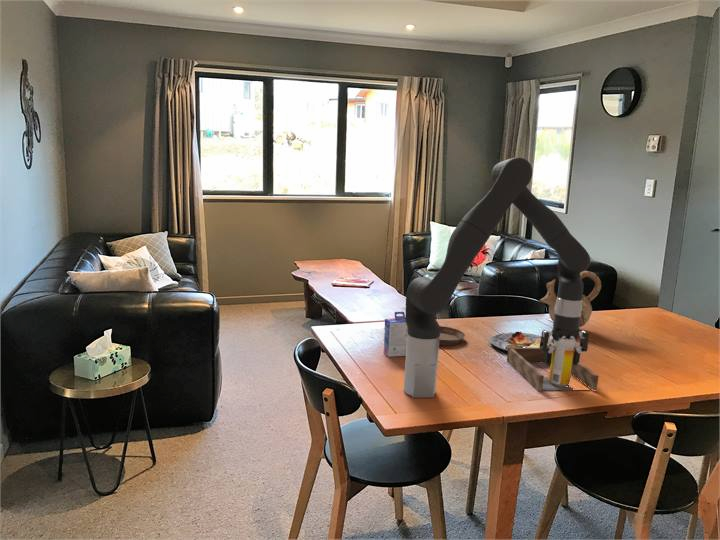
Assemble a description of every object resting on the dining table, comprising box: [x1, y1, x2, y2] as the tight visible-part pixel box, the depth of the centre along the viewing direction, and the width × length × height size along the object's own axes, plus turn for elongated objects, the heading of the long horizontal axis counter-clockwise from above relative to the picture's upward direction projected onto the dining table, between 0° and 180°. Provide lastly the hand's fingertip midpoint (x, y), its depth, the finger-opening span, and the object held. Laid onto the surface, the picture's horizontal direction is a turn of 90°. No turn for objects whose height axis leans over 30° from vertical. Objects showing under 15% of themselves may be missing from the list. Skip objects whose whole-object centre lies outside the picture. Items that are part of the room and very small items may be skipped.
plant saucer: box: [439, 325, 466, 346], centre depth 217 cm, size 18×18×3 cm
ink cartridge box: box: [383, 311, 408, 358], centre depth 198 cm, size 10×6×14 cm, turn 109°
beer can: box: [548, 338, 575, 387], centre depth 177 cm, size 6×6×15 cm
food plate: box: [488, 331, 552, 352], centre depth 212 cm, size 25×23×4 cm
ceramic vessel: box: [539, 270, 602, 328], centre depth 235 cm, size 18×19×25 cm
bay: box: [506, 347, 600, 393], centre depth 185 cm, size 25×18×5 cm
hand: (561, 363), depth 178 cm, fingers open, 8 cm apart
